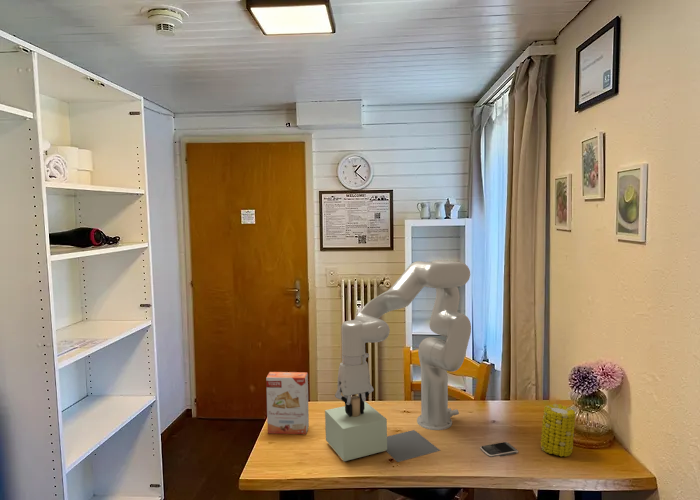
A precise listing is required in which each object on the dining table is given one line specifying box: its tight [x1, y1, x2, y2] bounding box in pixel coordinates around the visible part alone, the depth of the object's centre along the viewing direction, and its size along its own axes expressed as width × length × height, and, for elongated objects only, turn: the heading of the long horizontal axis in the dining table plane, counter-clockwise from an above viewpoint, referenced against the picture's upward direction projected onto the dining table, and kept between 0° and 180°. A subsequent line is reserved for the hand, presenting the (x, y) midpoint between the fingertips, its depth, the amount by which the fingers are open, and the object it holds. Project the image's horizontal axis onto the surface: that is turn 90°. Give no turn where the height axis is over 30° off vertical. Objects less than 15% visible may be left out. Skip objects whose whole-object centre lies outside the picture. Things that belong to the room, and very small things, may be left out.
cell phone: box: [479, 441, 519, 458], centre depth 153 cm, size 6×11×1 cm, turn 106°
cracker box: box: [265, 371, 310, 435], centre depth 169 cm, size 14×6×21 cm, turn 86°
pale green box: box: [324, 395, 388, 462], centre depth 155 cm, size 15×15×16 cm
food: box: [540, 403, 576, 458], centre depth 152 cm, size 15×12×10 cm
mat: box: [385, 429, 441, 463], centre depth 157 cm, size 16×16×1 cm
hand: (354, 413), depth 155 cm, fingers open, 3 cm apart
